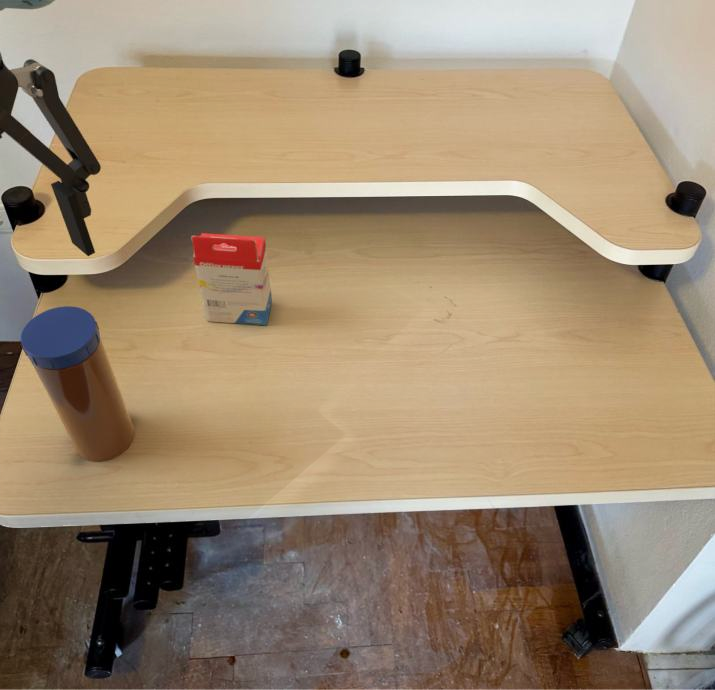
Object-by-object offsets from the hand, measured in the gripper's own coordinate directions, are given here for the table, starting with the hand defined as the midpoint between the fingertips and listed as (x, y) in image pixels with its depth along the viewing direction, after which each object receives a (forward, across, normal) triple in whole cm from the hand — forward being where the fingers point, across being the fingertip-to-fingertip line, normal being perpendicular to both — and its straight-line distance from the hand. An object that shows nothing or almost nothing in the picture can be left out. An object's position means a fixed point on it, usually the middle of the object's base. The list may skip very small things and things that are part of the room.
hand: (34, 273), depth 60 cm
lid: (+8, 0, 0) cm, 8 cm away
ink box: (+26, +24, +5) cm, 36 cm away
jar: (+25, 0, 0) cm, 25 cm away
